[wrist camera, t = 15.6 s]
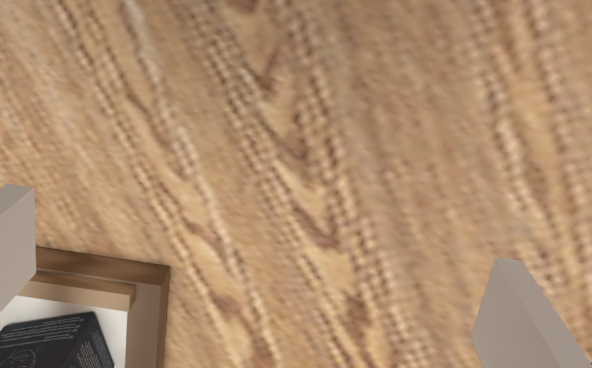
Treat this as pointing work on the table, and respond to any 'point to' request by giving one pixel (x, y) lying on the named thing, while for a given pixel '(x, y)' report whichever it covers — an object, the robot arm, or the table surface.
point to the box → (55, 344)
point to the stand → (100, 301)
